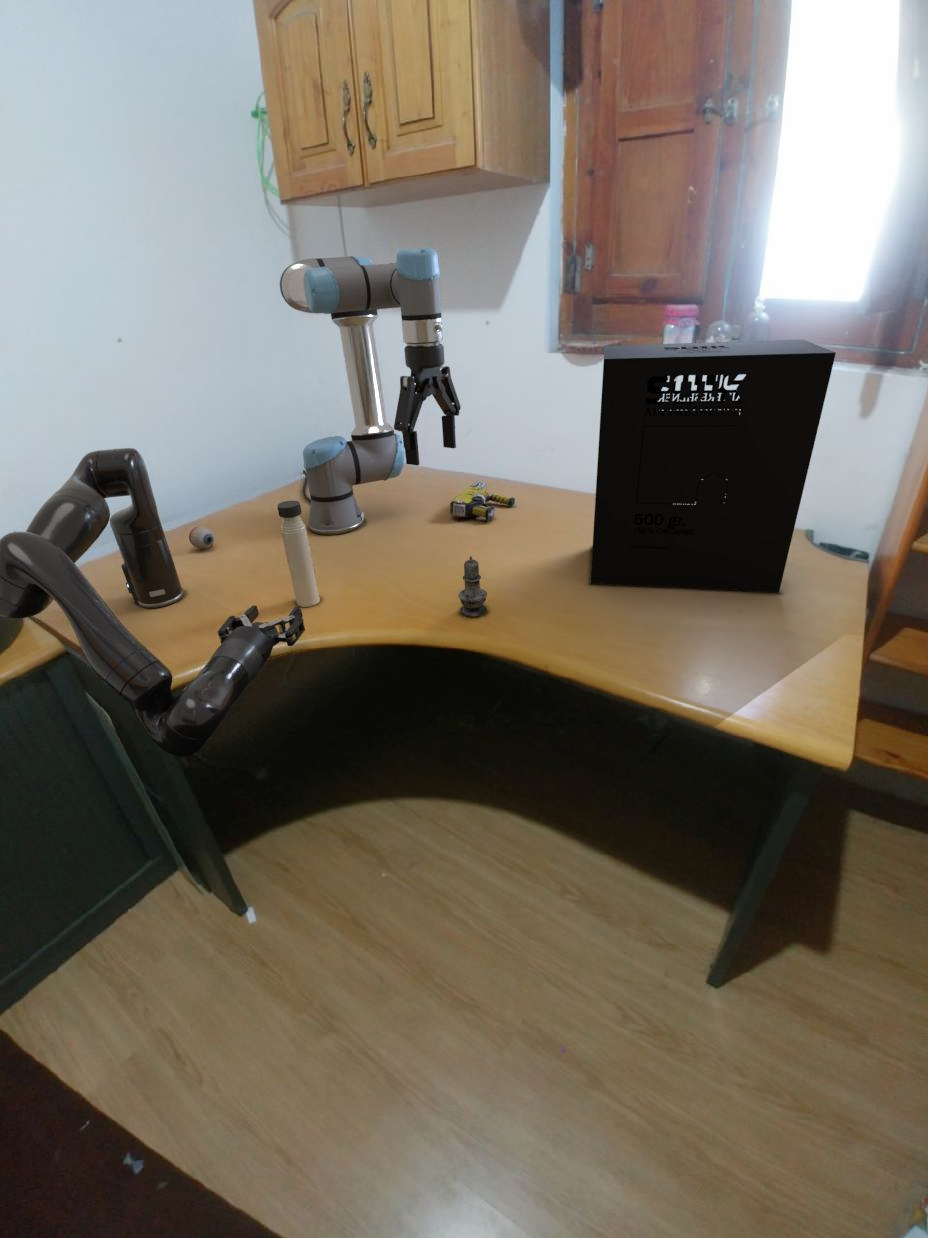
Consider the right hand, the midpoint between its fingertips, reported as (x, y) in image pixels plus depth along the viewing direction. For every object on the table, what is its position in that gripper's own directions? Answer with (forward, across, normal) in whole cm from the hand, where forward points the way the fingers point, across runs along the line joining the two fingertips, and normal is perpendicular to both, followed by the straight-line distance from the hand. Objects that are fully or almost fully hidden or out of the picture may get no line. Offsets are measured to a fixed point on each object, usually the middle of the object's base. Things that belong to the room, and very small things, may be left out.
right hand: (432, 455), depth 125 cm
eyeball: (+28, -15, +65) cm, 72 cm away
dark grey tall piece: (+27, -12, -16) cm, 33 cm away
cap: (+6, -24, +19) cm, 31 cm away
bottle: (+27, -24, +18) cm, 41 cm away
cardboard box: (+27, +25, -47) cm, 60 cm away
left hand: (+21, -37, +12) cm, 45 cm away
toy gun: (+28, +43, +12) cm, 52 cm away
